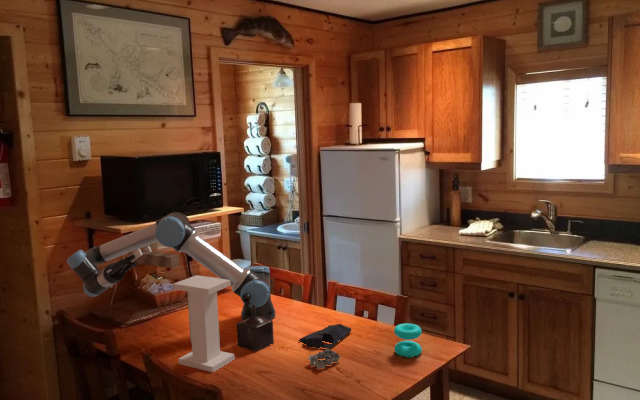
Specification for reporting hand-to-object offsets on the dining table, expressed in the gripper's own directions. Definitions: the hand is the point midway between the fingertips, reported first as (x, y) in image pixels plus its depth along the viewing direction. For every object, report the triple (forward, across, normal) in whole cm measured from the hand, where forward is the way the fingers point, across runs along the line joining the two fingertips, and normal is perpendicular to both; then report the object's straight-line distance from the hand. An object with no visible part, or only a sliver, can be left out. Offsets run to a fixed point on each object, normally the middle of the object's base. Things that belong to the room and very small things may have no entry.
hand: (145, 250), depth 207 cm
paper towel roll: (-8, -14, -40) cm, 44 cm away
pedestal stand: (+4, 0, -47) cm, 48 cm away
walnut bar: (+1, 0, -6) cm, 6 cm away
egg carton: (+38, -17, -68) cm, 79 cm away
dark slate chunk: (+29, -38, -63) cm, 79 cm away
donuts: (+59, -38, -79) cm, 106 cm away
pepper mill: (+8, -21, -50) cm, 55 cm away
